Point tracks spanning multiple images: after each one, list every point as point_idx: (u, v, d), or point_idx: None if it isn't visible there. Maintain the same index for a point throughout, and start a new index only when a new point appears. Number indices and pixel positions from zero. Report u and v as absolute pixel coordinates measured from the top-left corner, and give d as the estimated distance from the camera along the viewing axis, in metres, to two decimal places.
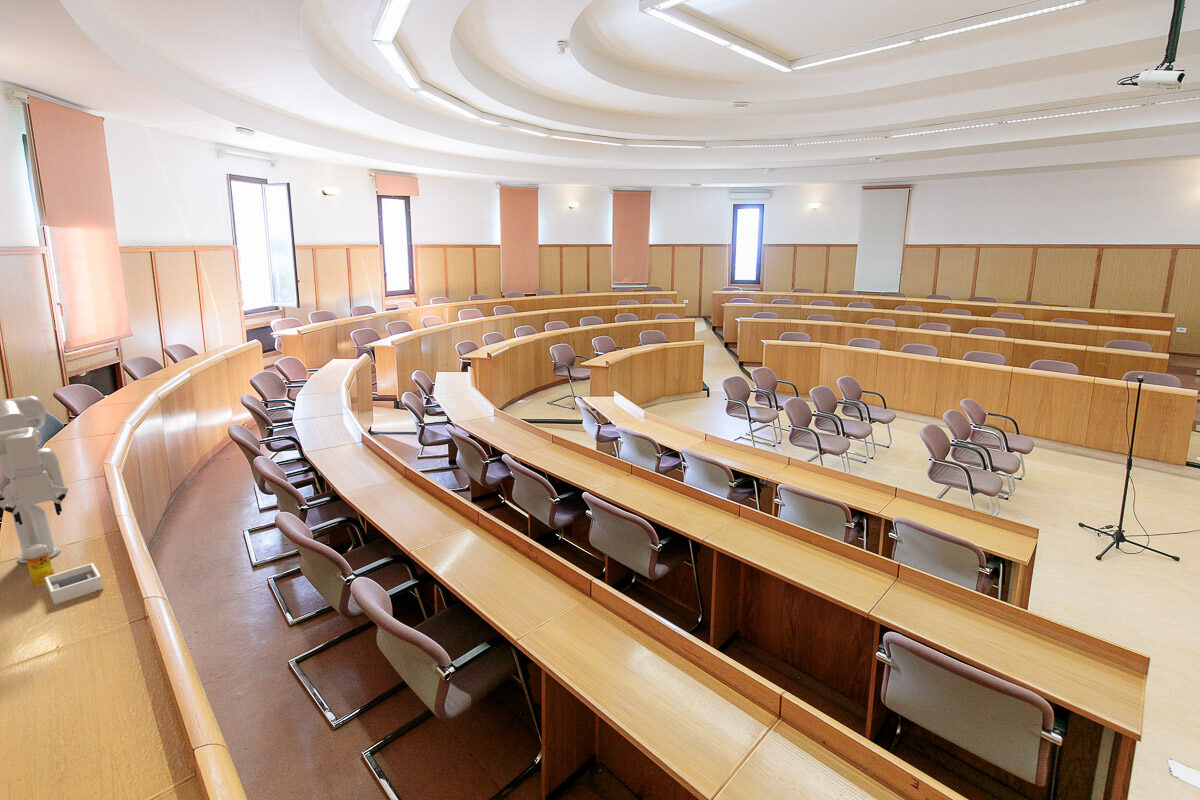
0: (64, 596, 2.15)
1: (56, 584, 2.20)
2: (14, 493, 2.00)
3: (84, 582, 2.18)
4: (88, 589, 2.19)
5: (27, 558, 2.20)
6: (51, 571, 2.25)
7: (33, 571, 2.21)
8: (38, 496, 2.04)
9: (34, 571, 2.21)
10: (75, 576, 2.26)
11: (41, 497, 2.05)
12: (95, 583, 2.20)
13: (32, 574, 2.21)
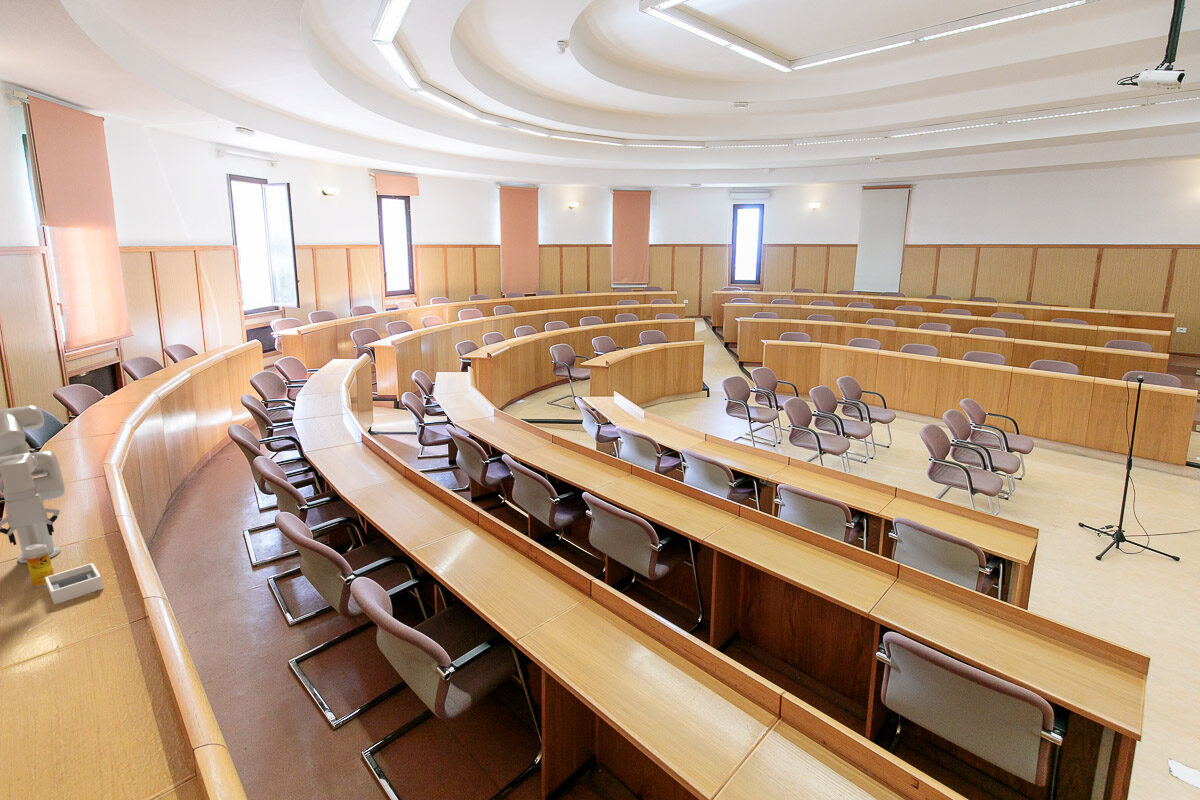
0: (64, 596, 2.15)
1: (56, 584, 2.20)
2: (9, 515, 2.13)
3: (84, 582, 2.18)
4: (88, 589, 2.19)
5: (27, 558, 2.20)
6: (51, 571, 2.25)
7: (33, 571, 2.21)
8: (31, 517, 2.18)
9: (34, 571, 2.21)
10: (75, 576, 2.26)
11: (34, 519, 2.18)
12: (95, 583, 2.20)
13: (32, 574, 2.21)
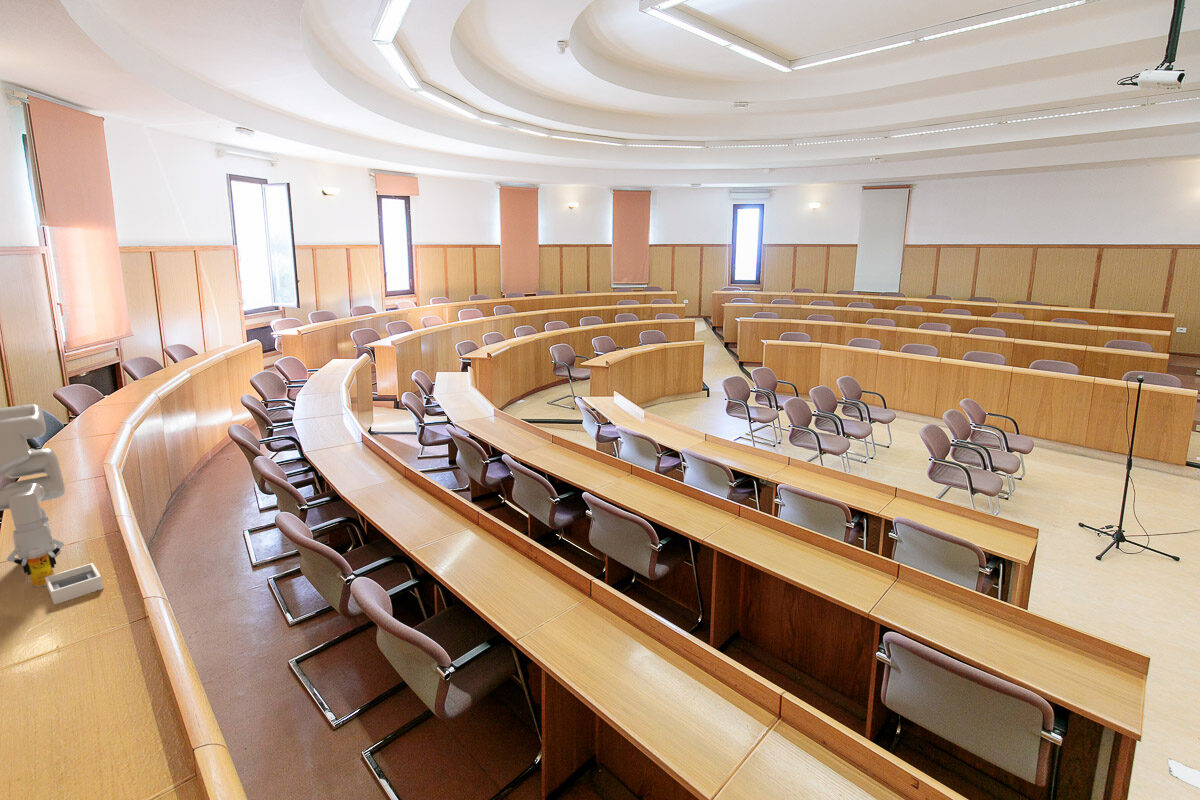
0: (64, 596, 2.15)
1: (56, 584, 2.20)
2: (17, 546, 2.16)
3: (84, 582, 2.18)
4: (88, 589, 2.19)
5: (27, 558, 2.20)
6: (51, 571, 2.25)
7: (33, 571, 2.21)
8: (39, 547, 2.21)
9: (34, 571, 2.21)
10: (75, 576, 2.26)
11: None
12: (95, 583, 2.20)
13: (32, 574, 2.21)
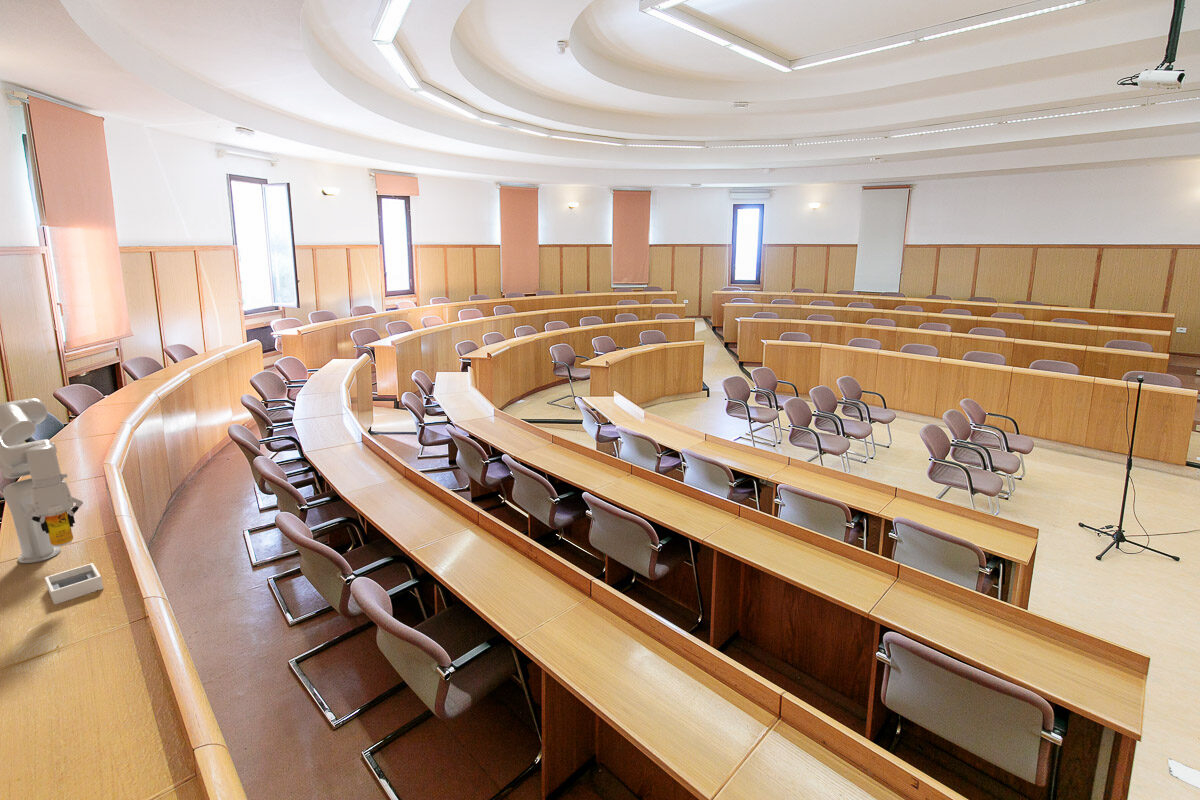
0: (64, 596, 2.15)
1: (56, 584, 2.20)
2: (35, 502, 2.08)
3: (84, 582, 2.18)
4: (88, 589, 2.19)
5: (45, 515, 2.12)
6: (70, 530, 2.17)
7: (52, 530, 2.13)
8: None
9: (52, 529, 2.13)
10: (75, 576, 2.26)
11: None
12: (95, 583, 2.20)
13: (50, 533, 2.13)
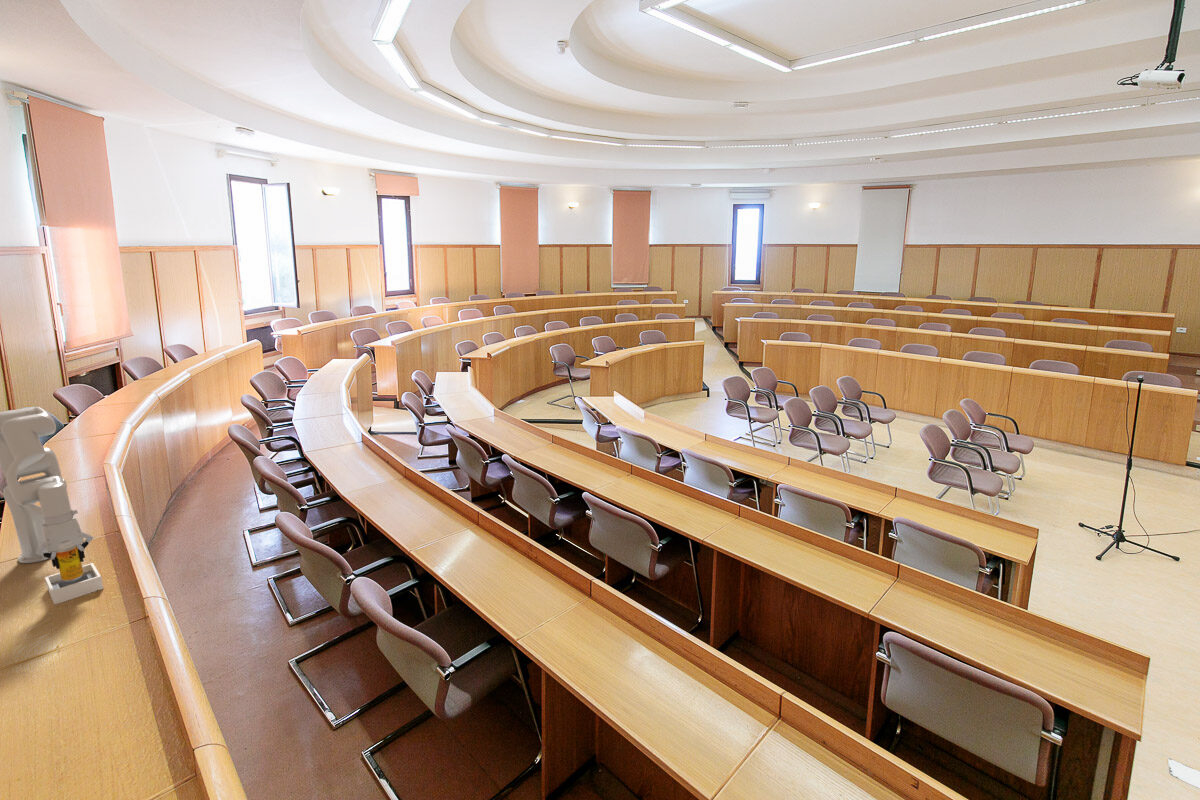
0: (64, 596, 2.15)
1: (56, 584, 2.20)
2: (46, 539, 2.12)
3: (84, 582, 2.18)
4: (88, 589, 2.19)
5: (56, 552, 2.15)
6: (80, 565, 2.20)
7: (63, 565, 2.16)
8: None
9: (63, 564, 2.16)
10: None
11: None
12: (95, 583, 2.20)
13: (61, 568, 2.17)
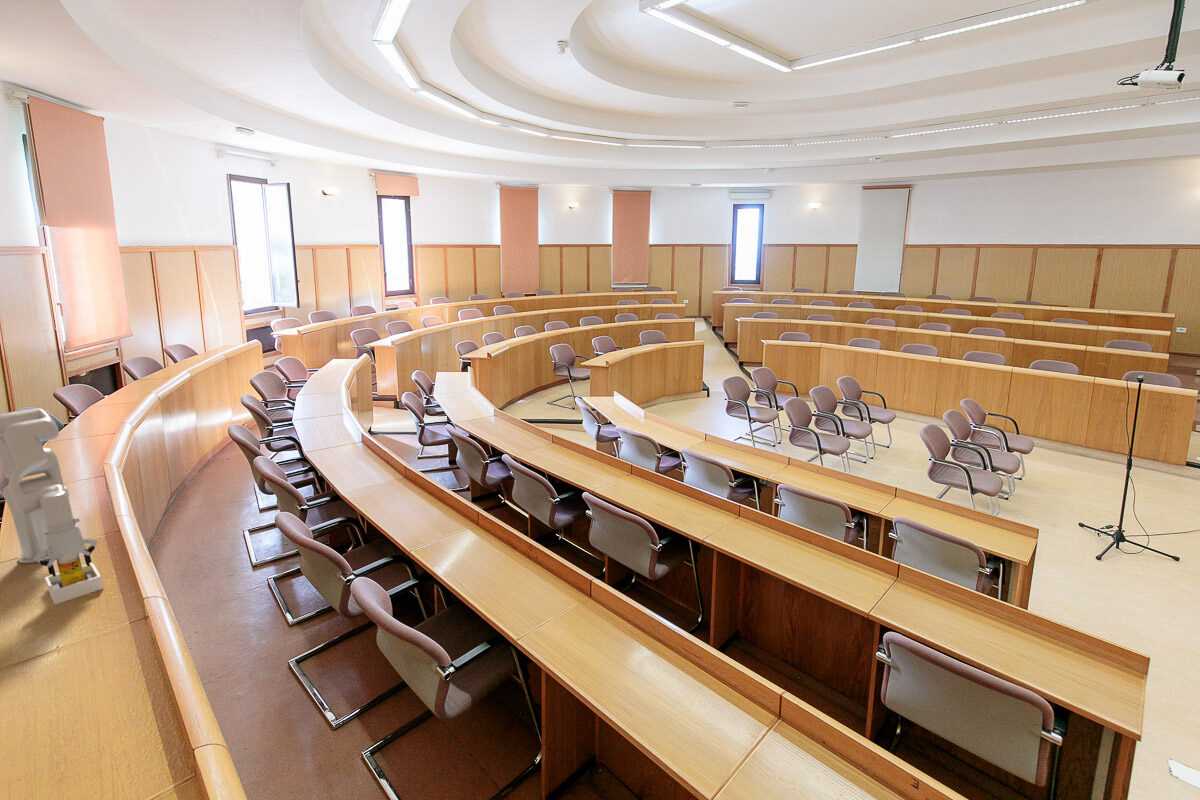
0: (64, 596, 2.15)
1: (56, 584, 2.20)
2: (48, 547, 2.13)
3: (84, 582, 2.18)
4: (88, 589, 2.19)
5: (58, 563, 2.16)
6: (82, 576, 2.22)
7: (65, 576, 2.18)
8: (70, 549, 2.17)
9: (65, 576, 2.18)
10: None
11: (73, 550, 2.18)
12: (95, 583, 2.20)
13: (64, 580, 2.18)
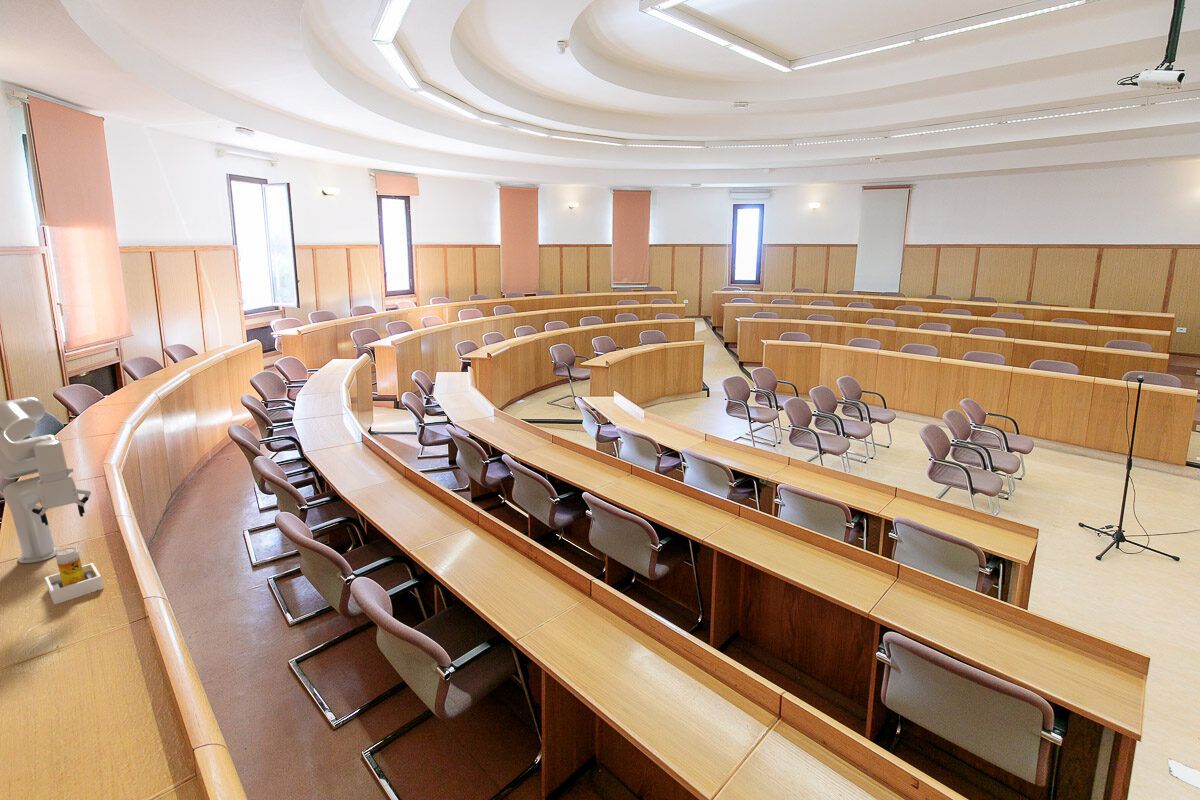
0: (64, 596, 2.15)
1: (56, 584, 2.20)
2: (41, 496, 2.13)
3: (84, 582, 2.18)
4: (88, 589, 2.19)
5: (59, 563, 2.16)
6: (82, 576, 2.22)
7: (65, 577, 2.18)
8: (63, 498, 2.17)
9: (65, 576, 2.18)
10: None
11: (66, 500, 2.18)
12: (95, 583, 2.20)
13: (64, 580, 2.18)
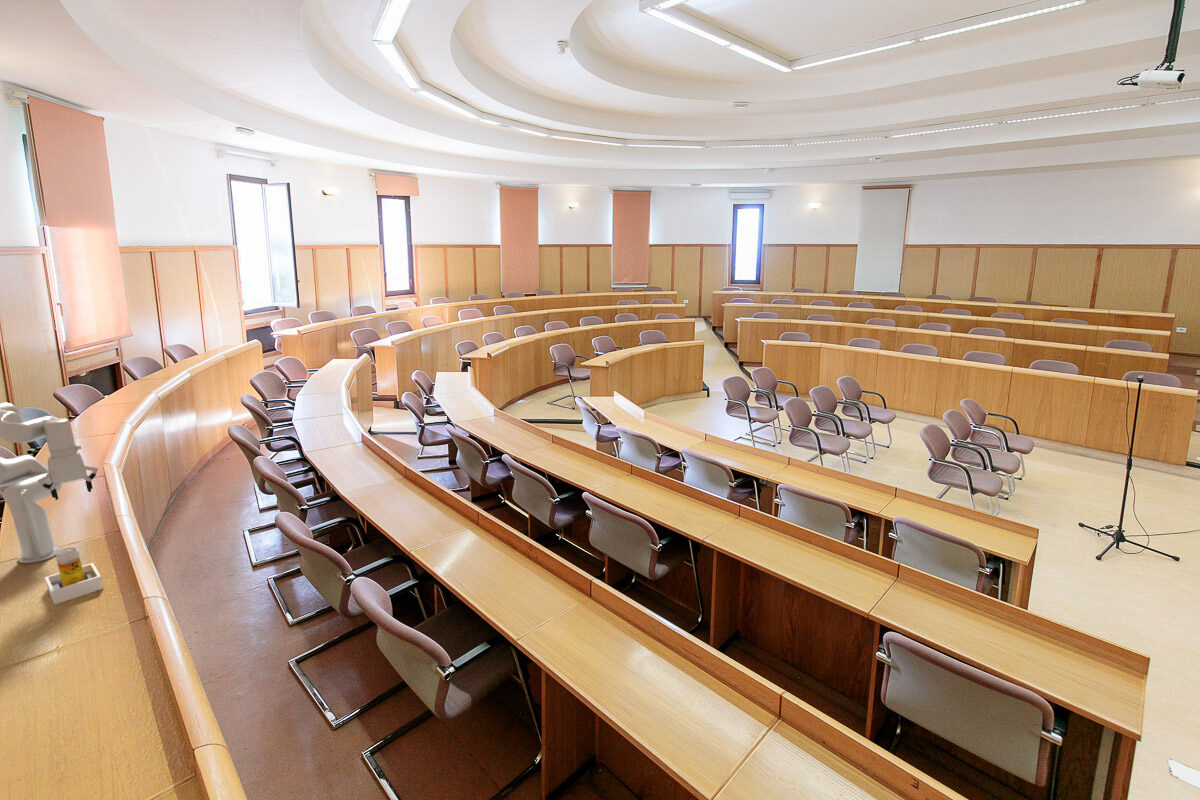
0: (64, 596, 2.15)
1: (56, 584, 2.20)
2: (51, 471, 2.25)
3: (84, 582, 2.18)
4: (88, 589, 2.19)
5: (59, 563, 2.16)
6: (82, 576, 2.22)
7: (65, 577, 2.18)
8: (72, 474, 2.30)
9: (65, 576, 2.18)
10: None
11: (75, 475, 2.30)
12: (95, 583, 2.20)
13: (64, 580, 2.18)
